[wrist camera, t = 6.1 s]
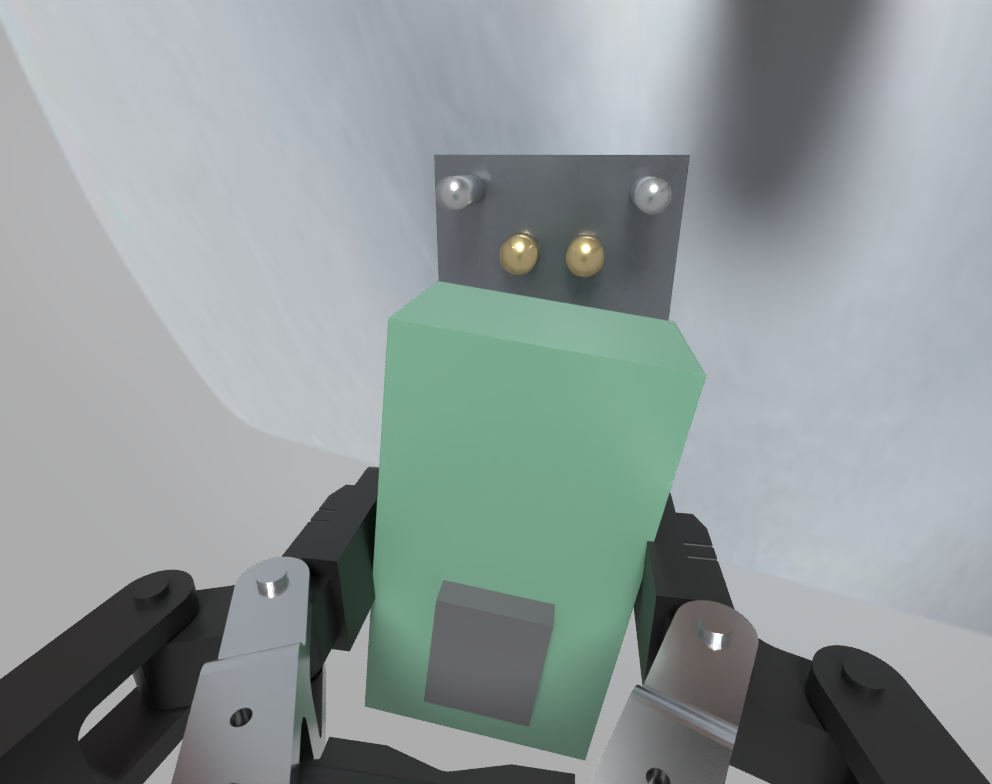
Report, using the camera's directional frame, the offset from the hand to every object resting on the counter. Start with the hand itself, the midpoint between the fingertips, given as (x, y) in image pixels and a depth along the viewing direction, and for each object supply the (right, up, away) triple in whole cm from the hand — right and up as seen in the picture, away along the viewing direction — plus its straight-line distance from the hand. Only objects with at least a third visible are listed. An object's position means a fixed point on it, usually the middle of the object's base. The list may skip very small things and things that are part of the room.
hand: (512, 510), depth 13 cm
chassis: (+3, +7, +17) cm, 18 cm away
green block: (0, 0, +1) cm, 1 cm away
